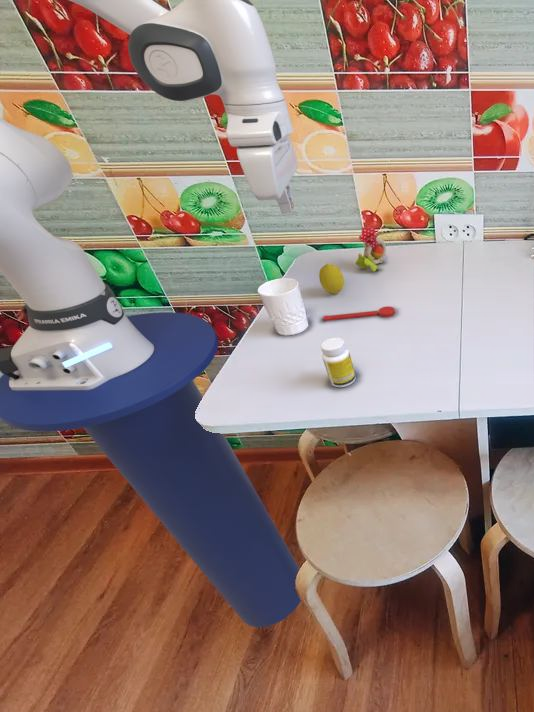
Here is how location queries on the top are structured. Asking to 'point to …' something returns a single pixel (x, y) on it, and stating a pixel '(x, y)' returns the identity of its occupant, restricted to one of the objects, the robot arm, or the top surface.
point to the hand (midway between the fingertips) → (288, 210)
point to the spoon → (363, 314)
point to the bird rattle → (371, 249)
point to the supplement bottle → (338, 362)
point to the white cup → (284, 305)
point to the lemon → (331, 278)
